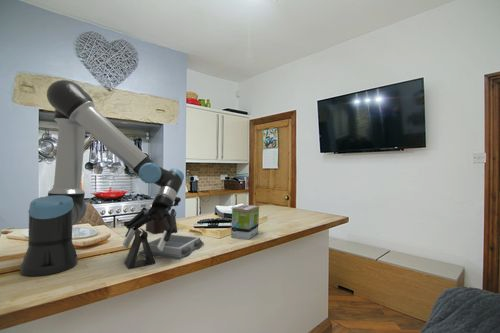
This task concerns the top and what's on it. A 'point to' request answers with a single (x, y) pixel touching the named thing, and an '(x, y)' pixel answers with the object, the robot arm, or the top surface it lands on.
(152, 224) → the dark brown handled box
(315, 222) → the top surface
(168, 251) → the tray
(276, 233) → the top surface
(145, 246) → the dark grey triangular stand
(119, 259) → the top surface
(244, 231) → the tea box
